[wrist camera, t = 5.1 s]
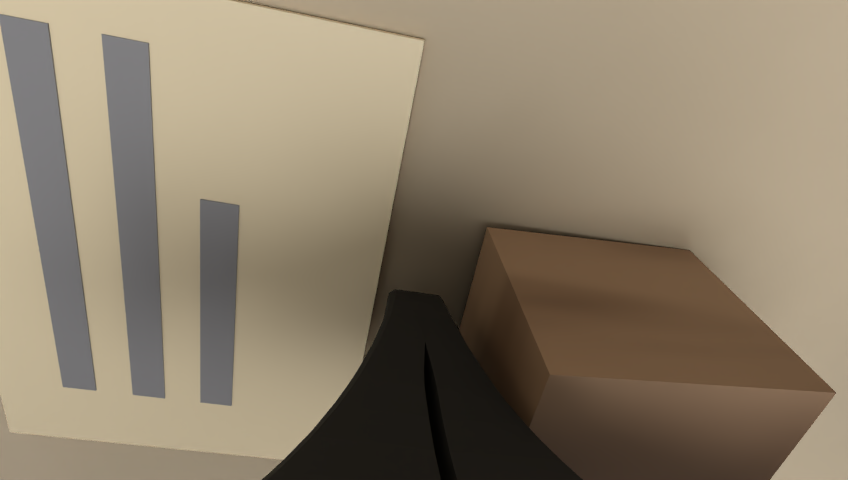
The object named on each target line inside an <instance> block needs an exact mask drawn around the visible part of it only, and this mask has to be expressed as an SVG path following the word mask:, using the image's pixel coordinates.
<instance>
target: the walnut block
mask: <svg viewBox="0 0 848 480" xmlns="http://www.w3.org/2000/svg"><path fill="white" fill-rule="evenodd" d="M459 332H460V333H461V335H462V337H463V339H464V340H465V342H466V344H467V345H468V347H469V348H470V350H471V352H472V353H473V355H474V356H475V358H476V359H477V361H478V363H479V364H480V366H481V367H482V369H483V370H484V372H485V373H486V375H487V376H488V377H489V379H490V380H491V382H492V383H493V384H494V386H495V387H496V388H497V390H498V391H499V393H500V394H501V395H502V396H503V398H504V399H505V400H506V402H507V403H508V404H509V405H510V406H511V408H512V409H513V410H514V411H515V412H516V413H517V415H518V416H519V417H520V418H521V419H522V420H523V421H524V423H525V424H526V425H527V426H528V427H529V428H530V429H531V430H532V431H533V432H534V433H535V435H536V436H537V437H538V438H539V439H540V440H541V441H542V442H543V443H544V444H545V445H546V446H547V447H548V448H549V449H550V450H551V451H552V452H553V453H554V454H556V455H557V456H558V457H559V458H560V459H561V460H562V461H563V462H564V463H565V464H566V465H567V466H568V467H569V468H570V469H572V470H573V471H574V472H575V473H576V474H577V475H578V476H579V477H580V478H582V479H583V480H770V479H771V478H772V476H773V475H774V474H775V472H776V471H777V470H778V468H779V467H780V466H781V464H782V463H783V462H784V461H785V459H786V458H787V457H788V455H789V454H790V453H791V451H792V450H793V449H794V447H795V446H796V445H797V444H798V442H799V441H800V440H801V438H802V437H803V436H804V434H805V433H806V432H807V430H808V429H809V428H810V427H811V425H812V424H813V423H814V421H815V420H816V419H817V417H818V416H819V415H820V413H821V412H822V411H823V410H824V408H825V407H826V406H827V404H828V403H829V402H830V400H831V399H832V398H833V396H834V395H835V394H836V392H835V391H834V390H833V389H832V388H831V387H830V386H829V385H828V384H827V383H826V382H825V381H824V380H822V379H821V378H820V377H819V376H818V375H817V374H816V373H815V372H814V371H813V370H812V369H811V368H810V367H809V366H808V365H807V364H806V363H805V362H804V361H803V360H802V359H801V358H800V357H799V356H798V355H797V354H796V353H795V352H794V351H793V350H792V349H791V348H790V347H789V346H788V345H787V344H785V343H784V342H783V341H782V340H781V339H780V338H779V337H778V336H777V335H776V334H775V333H774V332H773V331H772V330H771V329H770V328H769V327H768V326H767V325H766V324H765V323H764V322H763V321H762V320H761V319H760V318H759V317H758V316H757V315H756V314H755V313H754V312H753V311H752V310H751V309H750V308H748V307H747V306H746V305H745V304H744V303H743V302H742V301H741V300H740V299H739V298H738V297H737V296H736V295H735V294H734V293H733V292H732V291H731V290H730V289H729V288H728V287H727V286H726V285H725V284H724V283H723V282H722V281H721V280H720V279H719V278H718V277H717V276H716V275H715V274H714V273H713V272H711V271H710V270H709V269H708V268H707V267H706V266H705V265H704V264H703V263H702V262H701V261H700V260H699V259H698V258H697V257H696V256H695V255H694V254H693V253H692V252H691V251H690V250H683V249H674V248H665V247H656V246H647V245H639V244H630V243H621V242H612V241H604V240H595V239H586V238H577V237H569V236H560V235H551V234H542V233H533V232H525V231H516V230H507V229H498V228H490V227H487V229H486V233H485V237H484V240H483V244H482V248H481V252H480V255H479V259H478V263H477V266H476V270H475V274H474V277H473V281H472V285H471V288H470V292H469V296H468V299H467V303H466V307H465V310H464V314H463V318H462V321H461V325H460V329H459Z"/></svg>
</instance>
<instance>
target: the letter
mask: <svg viewBox="0 0 848 480" xmlns="http://www.w3.org/2000/svg"><path fill="white" fill-rule="evenodd" d="M423 46H424V39H420V38H416V37H411V36H406V35H401V34H396V33H392V32H387V31H382V30H377V29H373V28H368V27H363V26H358V25H353V24H349V23H344V22H339V21H334V20H329V19H325V18H320V17H315V16H310V15H306V14H301V13H296V12H291V11H286V10H282V9H277V8H272V7H267V6H263V5H258V4H253V3H248V2H243V1H239V0H0V396H1V400H2V404H3V408H4V412H5V416H6V420H7V424H8V428H9V432H10V433H20V434H30V435H40V436H50V437H60V438H70V439H80V440H90V441H100V442H110V443H119V444H129V445H139V446H149V447H159V448H169V449H179V450H189V451H199V452H209V453H218V454H228V455H238V456H248V457H258V458H268V459H278V460H284V459H285V458H286V457H287V456H288V455H289V454H290V453H291V452H292V451H293V450H294V449H295V448H296V446H297V445H298V444H299V443H300V442H301V441H302V440H303V439H304V438H305V437H306V436H307V435H308V434H309V433H310V432H311V431H312V430H313V429H314V427H315V426H316V425H317V424H318V423H319V422H320V420H321V419H322V418H323V417H324V415H325V414H326V413H327V412H328V411H329V409H330V408H331V407H332V406H333V404H334V403H335V402H336V400H337V399H338V398H339V396H340V395H341V394H342V392H343V391H344V390H345V388H346V387H347V385H348V384H349V382H350V381H351V379H352V378H353V376H354V375H355V373H356V372H357V370H358V368H359V367H360V365H361V363H362V362H363V357H364V352H365V347H366V341H367V336H368V331H369V326H370V321H371V316H372V310H373V305H374V300H375V295H376V290H377V284H378V279H379V274H380V269H381V264H382V259H383V253H384V248H385V243H386V238H387V233H388V227H389V222H390V217H391V212H392V207H393V202H394V196H395V191H396V186H397V181H398V176H399V170H400V165H401V160H402V155H403V150H404V145H405V139H406V134H407V129H408V124H409V119H410V113H411V108H412V103H413V98H414V93H415V88H416V82H417V77H418V72H419V67H420V62H421V56H422V51H423Z"/></svg>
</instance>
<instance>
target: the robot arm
mask: <svg viewBox="0 0 848 480" xmlns="http://www.w3.org/2000/svg"><path fill="white" fill-rule="evenodd" d="M262 480H583V479H582V478H580V477H579V476H578V475H577V474H576V473H575V472H574V471H573V470H572V469H570V468H569V467H568V466H567V465H566V464H565V463H564V462H563V461H562V460H561V459H560V458H559V457H558V456H557V455H556V454H554V453H553V452H552V451H551V450H550V449H549V448H548V447H547V446H546V445H545V444H544V443H543V442H542V441H541V440H540V439H539V438H538V437H537V436H536V435H535V433H534V432H533V431H532V430H531V429H530V428H529V427H528V426H527V425H526V424H525V423H524V421H523V420H522V419H521V418H520V417H519V416H518V415H517V413H516V412H515V411H514V410H513V409H512V408H511V406H510V405H509V404H508V403H507V402H506V400H505V399H504V398H503V396H502V395H501V394H500V393H499V391H498V390H497V388H496V387H495V386H494V384H493V383H492V382H491V380H490V379H489V377H488V376H487V375H486V373H485V372H484V370H483V369H482V367H481V366H480V364H479V363H478V361H477V359H476V358H475V356H474V355H473V353H472V352H471V350H470V348H469V347H468V345H467V344H466V342H465V340H464V339H463V337H462V335H461V333H460V332H459V330H458V328H457V326H456V325H455V323H454V321H453V319H452V317H451V315H450V313H449V312H448V310H447V308H446V306H445V304H444V302H443V300H442V299H441V297H440V296H438V295H431V294H424V293H417V292H410V291H403V290H396V289H395V290H393V291H391V292H390V293H389V296H388V301H387V305H386V310H385V315H384V319H383V322H382V325H381V327H380V329H379V331H378V333H377V335H376V338H375V340H374V342H373V344H372V346H371V348H370V350H369V351H368V353H367V355H366V357H365V358H364V360H363V362H362V363H361V365H360V367H359V368H358V370H357V372H356V373H355V375H354V376H353V378H352V379H351V381H350V382H349V384H348V385H347V387H346V388H345V390H344V391H343V392H342V394H341V395H340V396H339V398H338V399H337V400H336V402H335V403H334V404H333V406H332V407H331V408H330V409H329V411H328V412H327V413H326V414H325V415H324V417H323V418H322V419H321V420H320V422H319V423H318V424H317V425H316V426H315V427H314V429H313V430H312V431H311V432H310V433H309V434H308V435H307V436H306V437H305V438H304V439H303V440H302V441H301V442H300V443H299V444H298V445H297V446H296V448H295V449H294V450H293V451H292V452H291V453H290V454H289V455H288V456H287V457H286V458H285V459H284V460H283V461H282V462H281V463H280V464H279V465H278V466H277V467H276V468H275V469H273V470H272V471H271V472H270V473H269V474H268V475H267V476H266V477H264V478H263V479H262Z"/></svg>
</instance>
